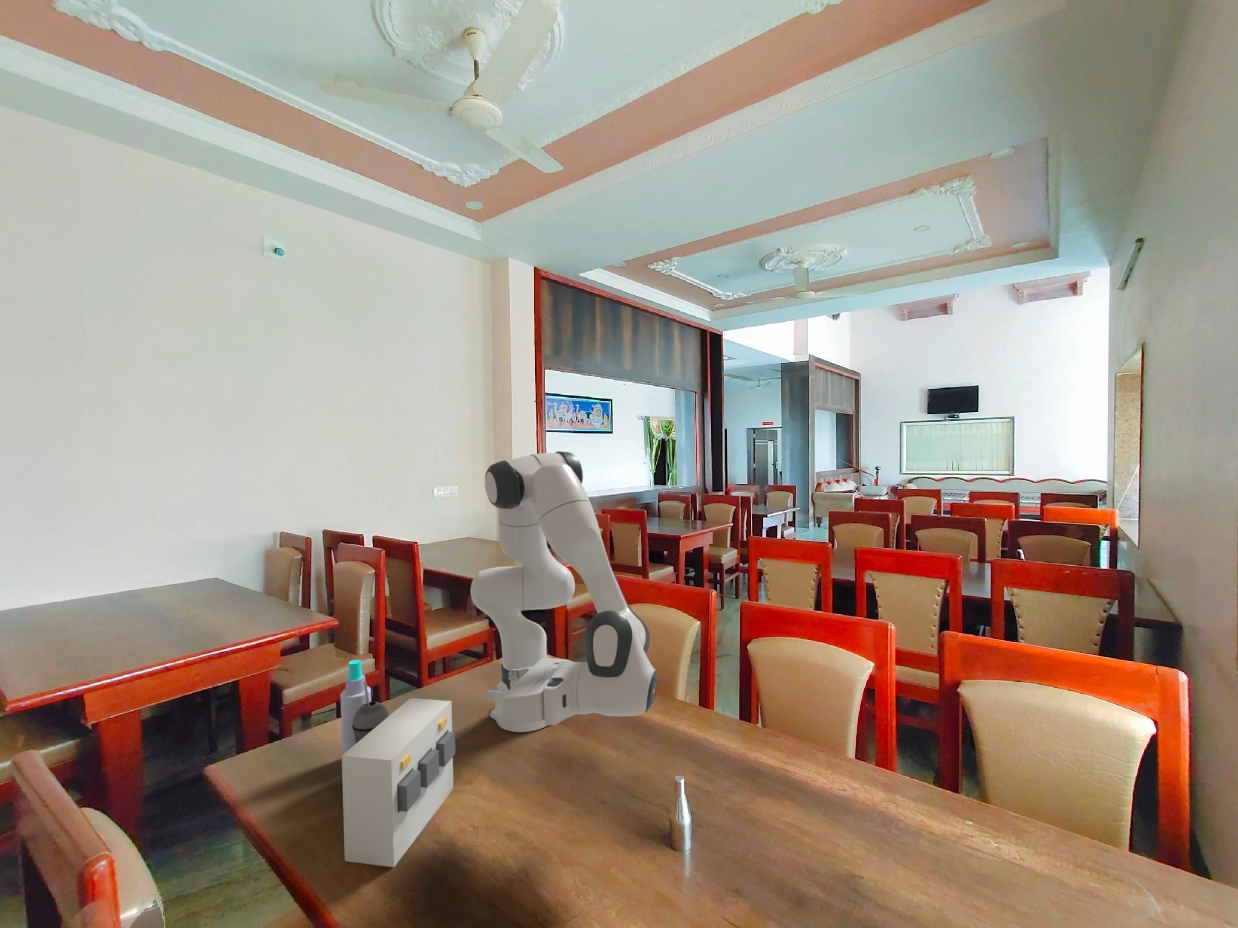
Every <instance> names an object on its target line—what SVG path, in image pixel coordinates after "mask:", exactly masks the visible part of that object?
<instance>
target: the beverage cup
mask: <svg viewBox="0 0 1238 928" xmlns="http://www.w3.org/2000/svg"><path fill="white" fill-rule="evenodd" d="M367 684H368V683H367V681H365V682H364V688H365V696H366V703H365V704H364V705H362V706H361V707H360V708H359V709H358V710H357V712H356V714H355V716H354V719H353V724H352V728H353V731H354V735H355V738H356V743H358V742H359V741H360V740H361V739H362V738H363V737H365V736H366V735H367V734H368V733H369V732H371V731H372V730H373V729H374V728H375V727H377V726H378V725H379V724H380V723H381V722H383V721H384V720H385V719H386V718H387V717H389V716H390V714H389V711H388V709H387V707H386V706H385V705H384V704H383V703H381V702H378V701H372V700H371V702H369V698H368V690H367V686H368V685H367Z"/></svg>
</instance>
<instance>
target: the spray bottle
mask: <svg viewBox="0 0 1238 928" xmlns="http://www.w3.org/2000/svg"><path fill="white" fill-rule="evenodd" d="M362 673H363V671H362V659H353V660H350V661H349V662H348V676H347V677H346V678H345V689H344V690H342V691H341V693H340V717H341V719H340V721H341V750H342V752H341V754H342V755H343V754H344V753H346V752H347V751H348V750H349V749H350V748H352V747H353V746H354V745H355V744H356V738H355V735H354V731H353V728H352V724H353V719H354V716H355V714H356V712H357V710H358V709H359V708H360V707H361V706H362V705H364V704H365V703H366V696H365V688H364V682H366V675H364V674H362ZM367 690H368V698H369V702H372V689H371V687H370V686H368V685H367ZM342 755H341V756H342Z"/></svg>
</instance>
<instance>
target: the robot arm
mask: <svg viewBox="0 0 1238 928" xmlns="http://www.w3.org/2000/svg"><path fill="white" fill-rule="evenodd" d="M583 480H584V473H583V468H582V463H581V461H580V460H579V458H578V457H577V456H575V454H574V453H572V452H570V451H555V452H542V453H534V454H533V453H532V454H529V455H526V456H525V455H524V456H519V457H517V458H516V457H515V458H513V459H508V460H505V459H504V460H501V461H500V460H499V461H497V462H495V463H493V464H491V465H489V467H488V468H487V470H486V472H485V475H484V489H485V493H486V495H487V498H488V500H489V502H490V503H491V505H493V506H494V507H496V508H497V520H498V523H497V525H498V544H499V548H500V549H501V551H502V552H503V553H504V554H505V555H506V557H508V558H510V559H512V560H514V561H517V562H519V563H520V564H522V565H512V566H510V565H509V566H495V567H490V568H486V569H482V570H480V571H478V572H477V573H476V574H475V576H474V577H473V580H471V585H470V597H471V600H472V602H473V604H474V605H475V606H476V608H477V609H479V610H480V611H481V612H483V613H484V614H486V615H487V617H489V618H490V619H491V620H492V621H493V623H494V624H495V626H496V628H497V630H498V633H499V636H500V641H501V643H500V644H501V652H502V653H501V655H502V662H501V663H502V664H501V665H500V680H501V681H500V682H498V684H496V687H494V688H492V687H491V688H489V689H488V690H486V692H485V699H486V701H487V702H494V703H495V705H494V706H495V707H494V709H492V710H491V711H490V714H489V715H490V716H489V717H490V718H491V719H493V720H495V721H496V723H497V725H498V727H500V729H503V730H506V731H509V732H512V733H513V732H514V733H527V732H533V731H537V730H541V729H542V728H545V727H547V726H556V725H558V724H560V723H561V722H563V721H565V720H566V719H568V718H571V717H574V716H575V715H588V714H594V713H595V714H600V715H602V716H606V717H635V716H641V715H644V714H645V713H647V712H648V711H649V710H650V709H651V707H652V705H653V704H654V701H655V698H656V695H657V691H658V690H657V688H658V673H657V670H656V669H655V668H654V666H653V665H652V664H651V661H650V660H649V658H648V656H647V653H648V650H649V648H650V643H651V637H650V631H649V629H648V625H647V624H646V623H645V621H644V620H643V619H642V618H641V617H640V616H639V615H638V614H637V613H636V612H634V610H633V609H632V608H631V606H630V605H629V603H628V602H627V600H626V598H625V595H624V593H623V591H622V588H621V587H620V584H619V582H618V579H617V578H616V575H615V572H614V570H613V567H612V565H611V563H610V560H609V557H608V554H607V552H606V548H605V545H604V540H603V538H602V534H601V530H600V527H599V523H598V519H597V517H596V514H595V513H596V512H595V511H594V508H593V506H592V503H591V500H590V498H589V496H588V494H587V492H586V488H585V487H584V486H583V482H584V481H583ZM547 543H548V544H547ZM548 545H549V546H550V548H551V549H552V551H553V552H554V553H555V554H556V556H558V557H559V558H561V560H563V561H564V562H565V563H567V564H568V565H569V566H570V567H571V568H573V570H574V571H576V573H577V574H578V575H579V576H580V577H581V579H582V580H583V583H584V584H585V586H586V588H587V591H588V594H589V596H590V598H591V600H592V603H593V605H594V608H595V610H596V612H597V614H595V615H594V616H593V617H592V618H591V619H590V620H589V621H588V623H587V624H586V627H585V631H584V638H583V639H584V640H583V641H584V649H585V658H586V662H585V661H584V662H581V661H580V662H579V661H571V660H570V659H565V658H557V657H556V658H555V657H551V655H550V654H549V655H548V650H547V634H546V631H545V630H544V628H543V627H542V626H541V625H540V624H538V623H537V622H534V621H532V620H529V619H528V618H526V617H525V616H524V615H523V614H522V612H523V611H528V610H529V611H530V610H531V611H533V610H549V609H550V610H551V609H554V608H558V607H562V606H566V605H567V604H569V602H570V601H571V600H572V599H573V596H574V593H575V590H576V582H575V577H574V576H573V574H572V571H570V568H568V567H566V566H565V565H563V564H562V563H560V562H559V561H558V560H557V559H556V558H555V557H554V556H553V555H552V553H551V552H550V550H549V547H548Z"/></svg>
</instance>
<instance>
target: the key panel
mask: <svg viewBox="0 0 1238 928" xmlns="http://www.w3.org/2000/svg"><path fill="white" fill-rule="evenodd" d="M452 706H453V705H452V701H451V700H440V699H428V698H424V699H423V698H415V697H414V698H413V697H410V698H408V700H406V701H405V702H404V703H402V705H401V706H399V707H398V708H397V709H396V710H395V711H393V712H392V713H391V714H389V717H387V718H386V719H385V720H384V721H383V722H381V723H380V724H379V725H378V726H377V727H375V728H374V729H373V730H372V731H371V732H369V733H368V734H367V735H366V736H365V737H363V738H362V739H361V740H360V741H359V742H358V743H356V744H355V745H354V746H353V747H352V748H350V749H349V750H348V751H347V752H346V753H344V754H343V755H341V770H342V772H341V775H342V776H341V777H342V778H341V779H342V809H343V811H342V812H343V843H344V846H343V847H344V861H345V862H351V863H356V864H357V863H358V864H364V865H365V864H366V865H374V866H380V867H389V868H395V867H396V866H397V864H398V863H399V861H400V860H401V859H402V857H403V856H404V855H405V854H406V852H407V851H408V850H409V848H410V847H411V846H412V844H413V843H414V842H415V840H416V839H417V838H418V836H419V835H420V834H421V833H422V832H423V830H424V828H425V827H426V826H427V824H428V823H429V822H430V821H431V819H432V818H433V816H434V815H435V814H436V812H437V811H438V809H439V808H440V807H441V806H442V805H443V803H444V802H445V800H446V799H447V798H448V797H449V795H451V792H452V791H453V790H454V756H453V757H452V759H451V760H450V761H449V762H448V763H447V765H446V766H445V767H441V766H439V774H438V775H437V777H436V778H435V779H434V780H433V781H432V783H431V784H430V785H429V786H428V787H427V788H423V787H421V796H420V797H419V798H418V799H417V801H416V802H415V803H414V804H413V805H412V807H411V808H410V809H409V810H408V811H407V812H404V811H398V797H397V784H398V783H399V782H400V781H401V780H402V779H403V778H404V777H405V776H406V775H407V773H408V772H409V771H410V770H418V762H419V761H420V759H421V758H422V757H423V756H424V755H425V754H426V753H427V752H428V751H429V750H430V749H431V750H436V742H437V741H438V740H439V739H440V738H441V737H442V736H443V735H444V734H445V733H446V731H447V732H453V714H452V713H453V711H452V708H453V707H452Z"/></svg>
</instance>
